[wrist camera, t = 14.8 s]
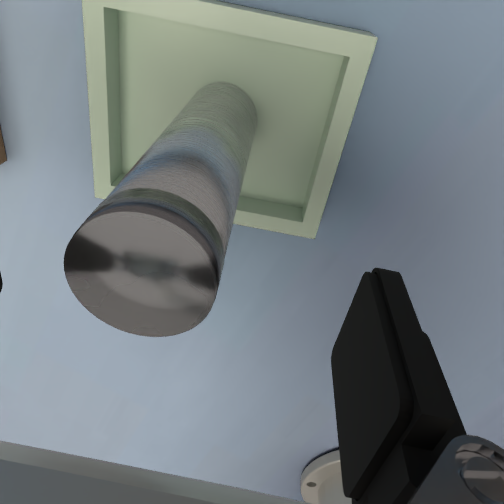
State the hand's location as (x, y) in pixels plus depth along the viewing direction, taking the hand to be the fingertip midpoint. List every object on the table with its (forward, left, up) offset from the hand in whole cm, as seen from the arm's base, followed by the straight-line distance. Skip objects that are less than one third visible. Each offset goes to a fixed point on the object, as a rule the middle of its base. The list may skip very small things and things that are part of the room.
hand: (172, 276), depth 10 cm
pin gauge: (0, -1, -11) cm, 11 cm away
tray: (0, -1, -11) cm, 11 cm away
